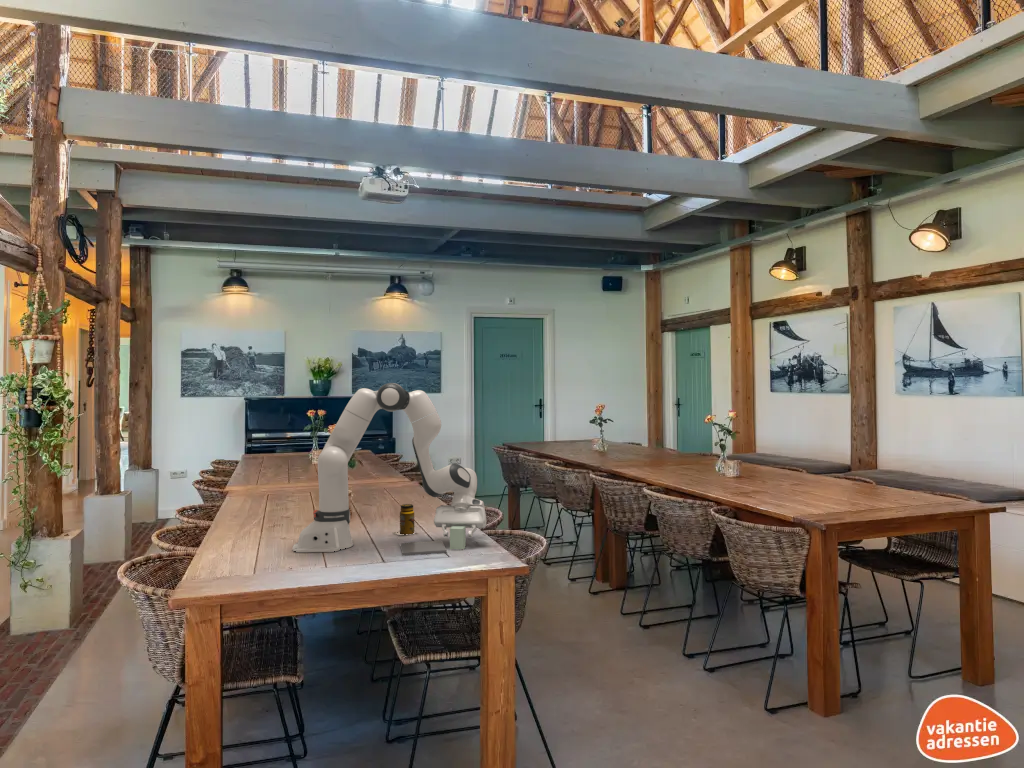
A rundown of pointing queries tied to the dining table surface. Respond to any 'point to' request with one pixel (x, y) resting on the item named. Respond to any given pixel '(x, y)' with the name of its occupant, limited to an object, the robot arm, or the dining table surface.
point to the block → (457, 537)
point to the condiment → (406, 519)
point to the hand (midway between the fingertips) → (457, 536)
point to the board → (423, 547)
